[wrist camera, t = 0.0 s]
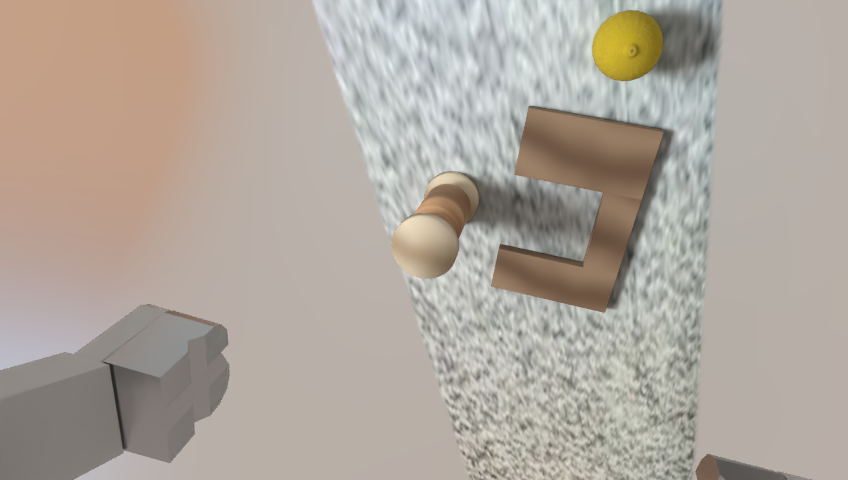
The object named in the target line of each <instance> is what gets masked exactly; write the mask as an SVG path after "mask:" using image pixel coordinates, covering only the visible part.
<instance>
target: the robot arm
mask: <svg viewBox="0 0 848 480" xmlns="http://www.w3.org/2000/svg"><path fill="white" fill-rule="evenodd" d="M227 345H228V335H227V329H226V328H225V327H224V326H222V325H221V324H218V323H214V322H211V321H207V320H204V319H201V318H197V317H193V316H190V315H187V314H183V313H180V312H176V311H171V310H167V309H164V308H161V307H158V306H154V305H151V304H146V305H140V306H139V307H137V308H136V309H134V310H133V311H132V312H130V313H129V314H128V315H126V316H125V317H124V318H122V319H121V320H120V321H118V322H117V323H115V324H114V325H113V326H111V327H110V328H108V329H107V330H106V331H104V332H103V333H102V334H100V335H99V336H98V337H96V338H95V339H94V340H92V341H91V342H89V343H88V344H87V345H85V346H84V347H83V348H81V349H80V350H78V351H77V352H76V353H74V354H71V353H67V352H64V353H60V354H57V355H53V356H50V357H46V358H42V359H39V360H35V361H32V362H28V363H25V364H21V365H18V366H14V367H11V368H7V369H4V370H0V480H74V479H75V478H77V477H79V476H81V475H83V474H85V473H87V472H89V471H90V470H92V469H94V468H96V467H98V466H100V465H102V464H104V463H106V462H107V461H109V460H111V459H113V458H115V457H117V456H119V455H121V454H123V452H124V451H123V450H125V451H129V452H132V453H136V454H139V455H143V456H147V457H150V458H154V459H157V460H161V461H164V462H168V463H170V462H171V461H172V460H173V459H174V458H175V457H176V455H177V454H178V453H179V452H180V451H181V450H182V448H183V447H184V446H185V445H186V444H187V442H188V441H189V440H190V439H191V438H192V437H193V435H194V434H195V429H194V422H196V421H199V420H201V419H203V418H206V417H208V416H210V415H211V414H212V413H213V411H214V410H215V409H216V408H217V406H218V405H219V404H220V402H221V400H222V398H223V396H224V394H225V391H226V389H227V385H228V380H229V364H228V362H227V361H226V359H225V358H224V356H223V355H222V353H221V352H222V351H223V350H224V348H225V347H226V346H227ZM695 472H696V476H697V480H811V479H807V478H803V477H799V476H794V475H791V474H787V473H782V472H775V471H772V470H768V469H764V468H761V467H757V466H753V465H749V464H745V463H741V462H737V461H734V460H730V459H726V458H722V457H718V456H714V455H710V454H707V455H706V456H705V457H704V458H702V460H701V461H700V463H699V465H698V467H697V469H696V471H695Z"/></svg>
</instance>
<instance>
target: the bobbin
mask: <svg viewBox="0 0 848 480" xmlns="http://www.w3.org/2000/svg"><path fill="white" fill-rule="evenodd" d="M478 205H479V192H478V189H477V187H476V185H475V183H474V182H473V181H472V180H471V179H470V178H469V177H467V176H466V175H464V174H462V173H459V172H453V171H450V172H444V173H441V174H439V175H437V176H436V177H435V178H434V179H433V180H432V181H431V182H430V184H429V185H428V186H427V188H426V191H425V194H424V201H423V202H422V203H421V205H420V206H419V208H418V209H417V211H416V212H415V214H414V215H411V216H409V217H407V218H406V219H405V220H404V221H403V222H402V223H401V224H400V225H399V227H398V228H397V230H396V231H395V233H394V235H393V238H392V251H393V255H394V257H395V259H396V261H397V263H398V264H399V265H400V266H401V267H402V268H403V269H404V270H405V271H406V272H408V273H410V274H411V275H414V276H416V277H420V278H436V277H439V276H441V275H443V274H445V273H446V272H447V271H449V270H450V268H451V267H452V266H453V264H454V262H455V259H456V257H457V255H458V251H459V241H458V239H459V237H460V234H461V232H462V230H463V228H464V225H465V223H467V222H468V221H469V220H470V219H471V218H472V217H473V216H474V214H475V212H476V210H477V208H478Z"/></svg>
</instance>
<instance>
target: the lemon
mask: <svg viewBox="0 0 848 480" xmlns="http://www.w3.org/2000/svg"><path fill="white" fill-rule="evenodd" d="M592 50H593V58H594V61H595V64H596V65H597V67H598V68H599V70H600V71H601V72H602V73H603V74H604V75H606V76H607V77H609V78H611V79H614V80H619V81H631V80H634V79H637V78H640V77H642V76H643V75H645V74H647V73H648V72H649V71H650V70H651V69H652V68H653V67H654V66H655V65H656V63H657V62H658V60H659V58H660V56H661V53H662V50H663V35H662V31H661V29H660V26H659V25H658V23H657V22H656V21H655V20H654V19H653V18H652V17H651V16H649V15H648V14H646V13H643V12H640V11H633V10H628V11H623V12H619V13H617V14H615V15H613V16H611V17H610V18H608V19H607V20H606V21H605V22H604V23H603V24H602V25H601V26H600V28H599V29H598V31H597V33H596V35H595V37H594V41H593V46H592Z"/></svg>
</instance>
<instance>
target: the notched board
mask: <svg viewBox="0 0 848 480" xmlns="http://www.w3.org/2000/svg"><path fill="white" fill-rule="evenodd" d="M663 133H664V132H663V130H662V129H658V128H652V127H647V126H641V125H635V124H630V123H624V122H618V121H613V120H607V119H601V118H596V117H590V116H584V115H579V114H573V113H568V112H562V111H556V110H551V109H545V108H539V107H534V106H529V108H528V112H527V117H526V122H525V127H524V131H523V136H522V141H521V146H520V151H519V155H518V160H517V165H516V170H515V174H514V175H519V176H524V177H529V178H534V179H539V180H544V181H549V182H554V183H559V184H564V185H569V186H574V187H579V188H584V189H589V190H594V191H600V192H603V195H602V199H601V202H600V206H599V209H598V213H597V216H596V220H595V223H594V226H593V230H592V233H591V237H590V240H589V244H588V247H587V250H586V254H585V257H584V261H583V262H579V261H575V260H570V259H565V258H561V257H556V256H552V255H547V254H543V253H538V252H534V251H529V250H524V249H520V248H515V247H511V246H506V245H502V244H500V247H499V251H498V255H497V260H496V265H495V270H494V274H493V279H492V284H491V286H492V287H496V288H501V289H505V290H509V291H514V292H518V293H522V294H526V295H531V296H535V297H539V298H544V299H548V300H552V301H556V302H561V303H565V304H569V305H574V306H578V307H582V308H587V309H591V310H595V311H599V312H604V313H605V311H606V308H607V305H608V302H609V299H610V295H611V292H612V289H613V286H614V283H615V280H616V277H617V274H618V271H619V268H620V265H621V262H622V259H623V256H624V253H625V249H626V246H627V243H628V240H629V237H630V234H631V231H632V228H633V225H634V222H635V219H636V216H637V213H638V210H639V206H640V203H641V200H642V197H643V194H644V191H645V188H646V185H647V182H648V179H649V176H650V173H651V170H652V167H653V164H654V160H655V157H656V154H657V151H658V148H659V145H660V142H661V139H662V136H663Z"/></svg>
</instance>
